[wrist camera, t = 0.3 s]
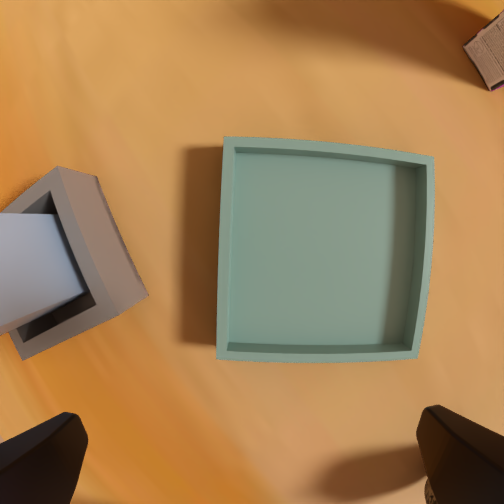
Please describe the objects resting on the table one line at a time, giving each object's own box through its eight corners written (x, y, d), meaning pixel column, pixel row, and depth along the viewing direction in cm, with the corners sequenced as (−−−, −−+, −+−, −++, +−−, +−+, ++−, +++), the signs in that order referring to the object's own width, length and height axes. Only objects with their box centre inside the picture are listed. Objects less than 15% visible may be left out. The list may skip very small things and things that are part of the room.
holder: (148, 295, 21) (118, 315, 16) (59, 338, 21) (22, 360, 16) (96, 176, 20) (57, 165, 15) (16, 234, 21) (-27, 238, 16)
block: (109, 281, 20) (-19, 334, 8) (60, 308, 20) (-60, 363, 8) (80, 215, 20) (-57, 212, 8) (34, 247, 20) (-93, 264, 8)
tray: (404, 346, 21) (417, 358, 18) (220, 345, 21) (216, 359, 19) (418, 162, 20) (434, 156, 17) (227, 146, 20) (224, 136, 18)
